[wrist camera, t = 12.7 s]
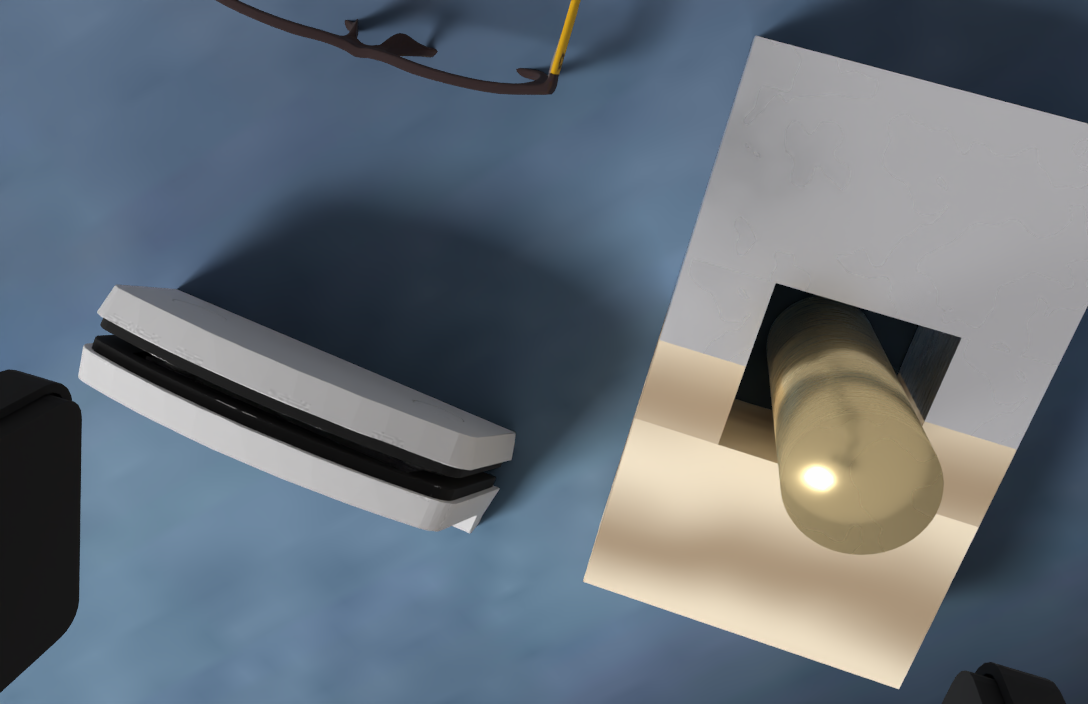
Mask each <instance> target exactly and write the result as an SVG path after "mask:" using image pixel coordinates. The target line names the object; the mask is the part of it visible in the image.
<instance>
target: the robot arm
mask: <svg viewBox="0 0 1088 704" xmlns="http://www.w3.org/2000/svg"><path fill="white" fill-rule="evenodd" d="M81 429H82V416H81V410H80V408H79V406H78V404H76V403H75V402H73V401H72V398H71V394H70V392H69V390H68V388H67V387H65V386H64V385H63V384H61V383H57V382H54V381H51V380H47V379H44V378H41V377H37V376H34V375H31V374H27V373H24V372H21V371H17V370H5V371H2V372H0V692H2V691H3V690H4V689H5V688H6V687H7V686H8V685H9V684H10V683H11V682H13V681H14V680H15V679H16V678H17V677H18V676H19V675H20V674H21V673H22V672H23V671H25V670H26V669H27V668H28V667H29V666H30V665H31V664H32V663H33V662H34V661H35V660H37V659H38V658H39V657H40V656H41V655H42V654H43V653H44V652H45V651H46V650H47V649H49V648H50V647H51V646H52V645H53V644H54V643H55V642H56V641H57V640H58V639H59V638H61V636H62V635H63V634H64V633H65V632H66V631H67V629H68V628H69V626H70V625H71V623H72V621H73V619H74V617H75V615H76V612H77V609H78V604H79V568H80V498H81ZM942 704H1066V703H1065V701H1064V699H1063V696H1062V694H1061V692H1060V690H1059V689H1058V688H1057V686H1056V685H1055V683H1054V682H1052V681H1050V680H1048V679H1045V678H1042V677H1039V676H1035V675H1032V674H1029V673H1025V672H1022V671H1019V670H1015V669H1012V668H1009V667H1005V666H1002V665H999V664H995V663H992V662H989V663H984V664H983V665H982V666H980V667H979V668H978V669H977V671H976V672H975V673H972V672H969V671H961V672H960V673H959V674H958V675H957V676H956V677H955V679H954V681H953V682H952V684H951V686H950V688H949V690H948V692H947V694H946V696H945V698H944V700H943V702H942Z"/></svg>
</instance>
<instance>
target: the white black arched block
mask: <svg viewBox="0 0 1088 704" xmlns="http://www.w3.org/2000/svg"><path fill="white" fill-rule="evenodd" d="M97 313H98V314H99V315H100V316H101V317H103V320H102V322H101V324H100V325H101V327H102V328H103V329H105V330H106V331H108V332H110V333H112V334H114V335H103V336H97V337H95V340H94V343H90V344H85V345H84V346H83V352H82V358H81V364H80V370H79V376H78V377H79V378H80V379H81V380H82V381H83V382H84V383H86V384H88V385H89V386H91V387H93V388H95V389H96V390H98V391H100V392H101V393H103V394H105V395H106V396H108V397H110V398H112V399H113V400H115V401H117V402H119V403H121V404H123V405H124V406H126V407H128V408H130V409H132V410H134V411H135V412H137V413H139V414H141V415H143V416H145V417H147V418H149V419H151V420H153V421H155V422H157V423H159V424H161V425H163V426H165V427H167V428H170V429H172V430H174V431H176V432H178V433H180V434H182V435H184V436H186V437H188V438H190V439H192V440H194V441H196V442H198V443H201V444H203V445H205V446H207V447H209V448H211V449H213V450H216V451H218V452H220V453H222V454H225V455H227V456H230V457H232V458H234V459H237V460H239V461H241V462H244V463H246V464H248V465H251V466H253V467H255V468H258V469H260V470H263V471H265V472H267V473H270V474H272V475H274V476H277V477H279V478H282V479H284V480H287V481H289V482H292V483H295V484H297V485H300V486H302V487H305V488H308V489H310V490H313V491H315V492H318V493H321V494H323V495H326V496H328V497H331V498H334V499H336V500H339V501H341V502H344V503H347V504H349V505H352V506H355V507H358V508H361V509H364V510H367V511H370V512H372V513H375V514H378V515H381V516H384V517H387V518H390V519H393V520H396V521H399V522H402V523H405V524H408V525H411V526H414V527H417V528H420V529H424V530H429V531H441V530H443V529H445V528H448V527H450V526H454V527H456V528H459V529H461V530H463V531H466V532H468V533H472V531H473V530H474V529H475V528H476V526H477V525H478V523H479V522H480V520H481V517H482V515H483V514H484V512H485V511H486V509H487V508H488V506H489V505H490V503H491V501H492V500H493V498H494V497H495V495H496V494H497V492H498V491H499V489H500V488H498V487H495V486H493V484H494V482H495V479H496V477H495V476H492V475H490V474H488V473H485V472H484V471H488V470H492V469H495V468H499V467H501V465H502V462H506V461H510V460H512V455H513V449H514V444H515V434H516V433H515V432H513V431H510V430H508V429H506V428H503V427H501V426H499V425H496V424H494V423H492V422H489V421H487V420H485V419H482V418H480V417H477V416H475V415H473V414H470V413H468V412H466V411H463V410H461V409H459V408H456V407H454V406H451V405H449V404H447V403H444V402H442V401H440V400H437V399H435V398H433V397H430V396H428V395H425V394H423V393H421V392H418V391H416V390H414V389H411V388H409V387H407V386H404V385H402V384H399V383H397V382H395V381H392V380H390V379H388V378H385V377H383V376H381V375H378V374H376V373H373V372H371V371H369V370H366V369H364V368H362V367H359V366H357V365H355V364H352V363H350V362H347V361H345V360H343V359H340V358H338V357H336V356H333V355H331V354H329V353H326V352H324V351H321V350H319V349H317V348H314V347H312V346H310V345H307V344H305V343H303V342H300V341H298V340H295V339H293V338H291V337H288V336H286V335H284V334H281V333H279V332H277V331H274V330H272V329H270V328H267V327H265V326H262V325H260V324H258V323H255V322H253V321H251V320H248V319H246V318H244V317H241V316H239V315H236V314H234V313H232V312H229V311H227V310H225V309H222V308H220V307H218V306H215V305H213V304H210V303H208V302H206V301H203V300H201V299H199V298H196V297H194V296H192V295H189V294H187V293H184V292H182V291H180V290H177V289H168V288H154V287H141V286H128V285H115V286H114V288H113V289H112V291H111V292H110V294H109V295H108V297H107V298H106V300H105V301H104V303H103V304H102V305H101V307H100V308H99V310H98V311H97Z"/></svg>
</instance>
